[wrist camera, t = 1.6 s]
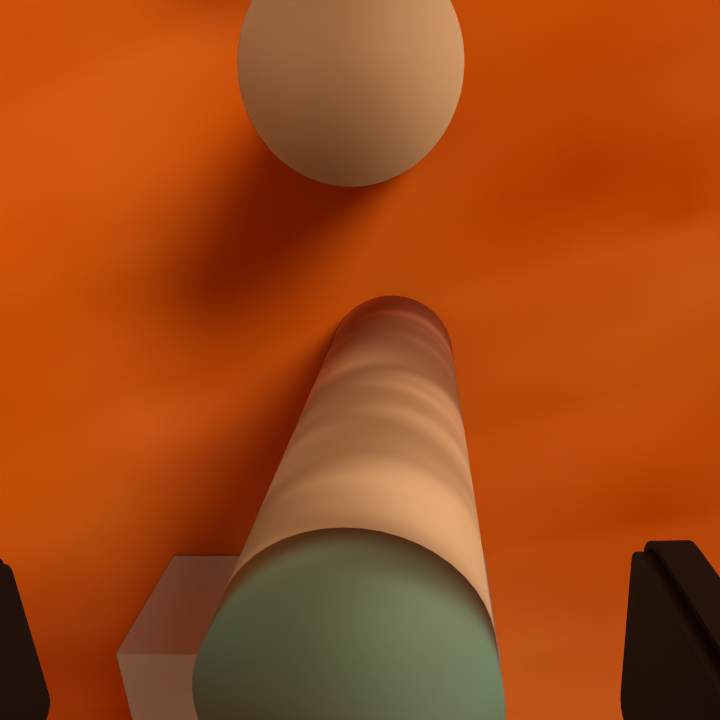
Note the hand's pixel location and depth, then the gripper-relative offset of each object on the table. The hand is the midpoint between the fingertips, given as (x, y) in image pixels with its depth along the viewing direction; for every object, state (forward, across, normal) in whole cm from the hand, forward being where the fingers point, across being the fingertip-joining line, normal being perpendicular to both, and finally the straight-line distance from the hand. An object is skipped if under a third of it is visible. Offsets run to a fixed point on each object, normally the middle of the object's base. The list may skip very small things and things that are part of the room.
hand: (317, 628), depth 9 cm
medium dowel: (+12, -1, -8) cm, 15 cm away
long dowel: (+12, -1, 0) cm, 13 cm away
